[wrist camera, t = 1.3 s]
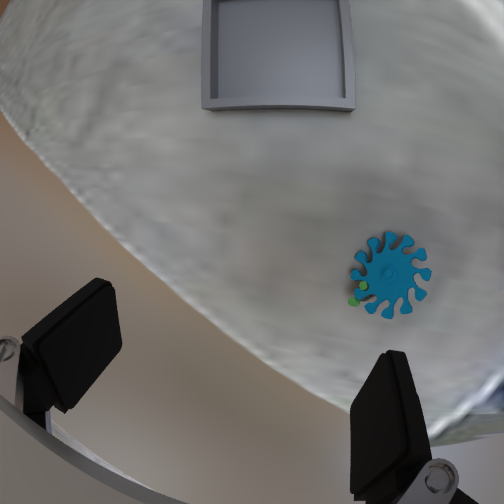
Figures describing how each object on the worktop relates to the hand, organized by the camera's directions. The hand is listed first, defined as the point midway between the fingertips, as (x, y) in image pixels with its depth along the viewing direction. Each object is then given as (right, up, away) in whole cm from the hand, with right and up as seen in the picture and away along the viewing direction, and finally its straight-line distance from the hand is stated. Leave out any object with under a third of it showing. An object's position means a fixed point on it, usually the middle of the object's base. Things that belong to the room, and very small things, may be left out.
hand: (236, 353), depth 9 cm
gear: (+17, +2, +25) cm, 30 cm away
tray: (+4, +27, +17) cm, 32 cm away
